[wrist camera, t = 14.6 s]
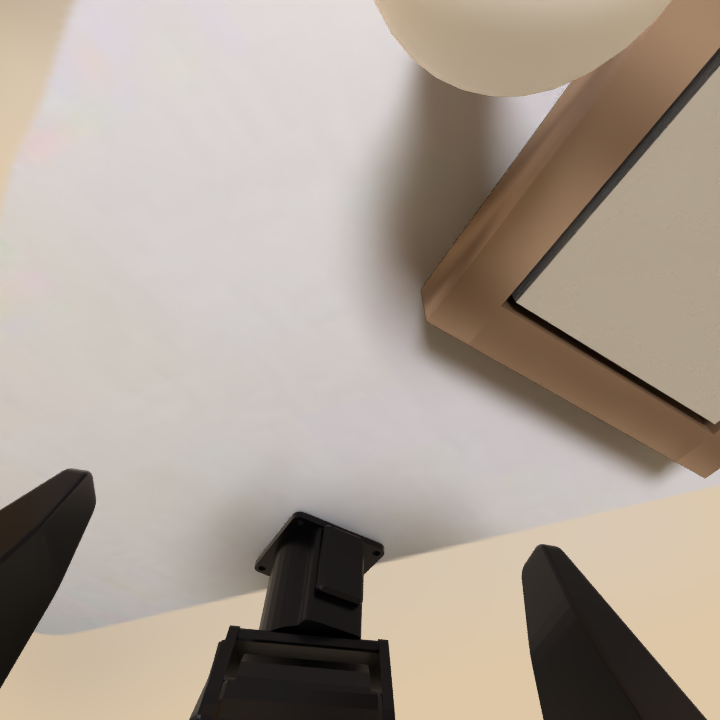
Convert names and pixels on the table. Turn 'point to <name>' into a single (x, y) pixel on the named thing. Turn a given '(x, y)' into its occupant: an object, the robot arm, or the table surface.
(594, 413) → the brown picture frame
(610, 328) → the platform
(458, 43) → the lightbulb
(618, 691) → the robot arm
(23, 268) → the table surface
